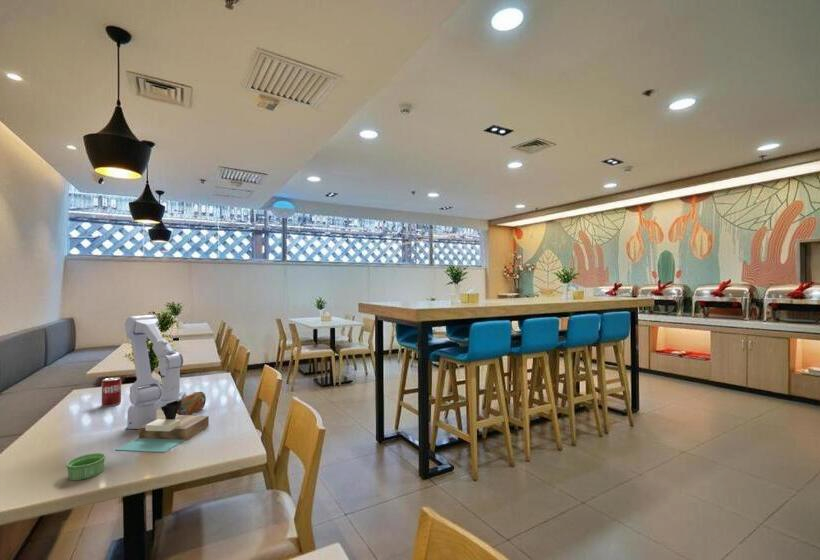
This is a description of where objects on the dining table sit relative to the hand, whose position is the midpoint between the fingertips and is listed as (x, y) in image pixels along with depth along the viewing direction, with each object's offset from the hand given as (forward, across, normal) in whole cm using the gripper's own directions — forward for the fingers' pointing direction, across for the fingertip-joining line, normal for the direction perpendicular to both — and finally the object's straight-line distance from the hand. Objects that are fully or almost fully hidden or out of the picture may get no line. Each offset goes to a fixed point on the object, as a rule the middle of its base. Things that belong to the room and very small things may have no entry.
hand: (170, 422), depth 146 cm
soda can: (+5, +32, +53) cm, 62 cm away
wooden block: (+5, +2, 0) cm, 5 cm away
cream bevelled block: (+1, -4, 0) cm, 4 cm away
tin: (+5, +24, +8) cm, 25 cm away
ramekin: (+5, -30, +4) cm, 31 cm away
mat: (+5, -10, 0) cm, 11 cm away
